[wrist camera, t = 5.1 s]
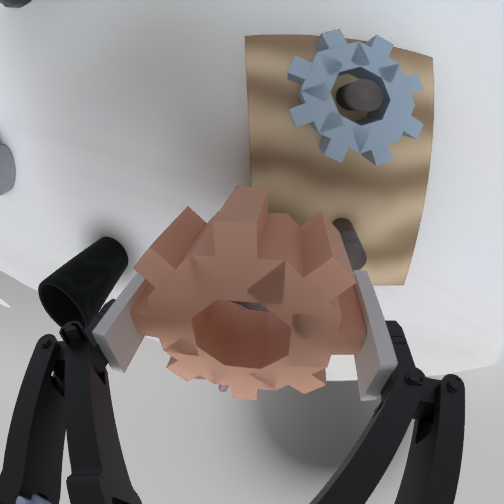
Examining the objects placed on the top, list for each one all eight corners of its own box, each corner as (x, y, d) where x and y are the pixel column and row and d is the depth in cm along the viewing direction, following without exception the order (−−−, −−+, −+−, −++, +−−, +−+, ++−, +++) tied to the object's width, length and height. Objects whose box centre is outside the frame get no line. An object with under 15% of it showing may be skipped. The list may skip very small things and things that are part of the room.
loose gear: (149, 187, 14) (101, 220, 10) (364, 193, 12) (395, 232, 8) (179, 336, 19) (158, 383, 15) (332, 349, 18) (336, 403, 14)
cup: (139, 245, 32) (87, 306, 22) (130, 286, 36) (88, 345, 26) (93, 220, 31) (34, 269, 21) (88, 262, 35) (41, 313, 25)
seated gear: (265, 63, 19) (261, 53, 15) (376, 32, 16) (392, 19, 12) (315, 171, 24) (320, 184, 20) (417, 138, 20) (440, 146, 17)
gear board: (247, 39, 19) (231, 16, 13) (425, 59, 17) (465, 50, 11) (256, 275, 32) (248, 318, 26) (400, 278, 30) (419, 319, 24)
